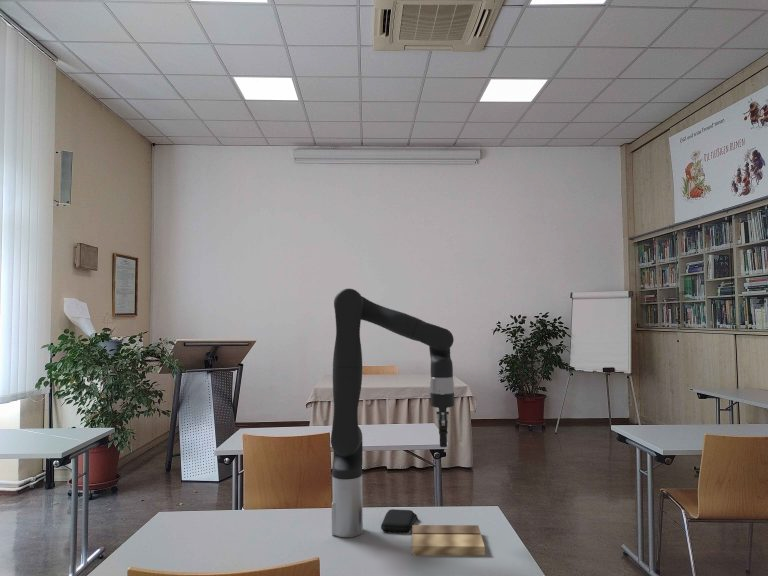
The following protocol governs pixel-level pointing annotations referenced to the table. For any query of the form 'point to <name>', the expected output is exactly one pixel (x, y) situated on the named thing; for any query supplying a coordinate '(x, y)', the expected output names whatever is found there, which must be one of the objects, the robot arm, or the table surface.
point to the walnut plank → (446, 529)
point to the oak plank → (447, 544)
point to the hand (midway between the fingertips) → (443, 446)
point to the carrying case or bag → (398, 521)
